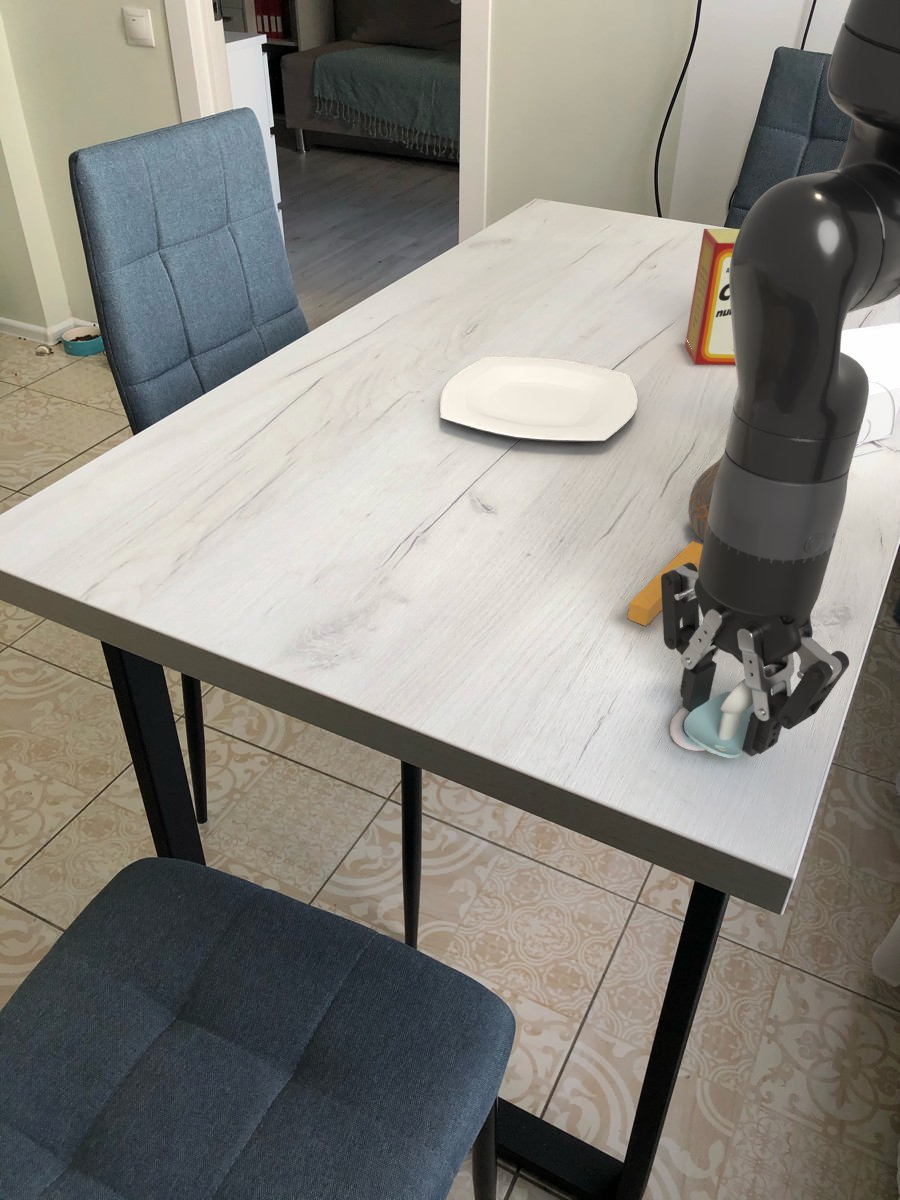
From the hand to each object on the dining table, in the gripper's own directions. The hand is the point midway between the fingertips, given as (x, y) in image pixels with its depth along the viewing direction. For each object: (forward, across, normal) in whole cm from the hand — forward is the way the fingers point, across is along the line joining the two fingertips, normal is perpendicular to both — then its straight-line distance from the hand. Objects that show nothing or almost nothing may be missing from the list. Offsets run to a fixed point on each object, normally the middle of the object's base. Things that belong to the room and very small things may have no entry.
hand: (724, 725), depth 67 cm
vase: (+1, +19, -21) cm, 28 cm away
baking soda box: (+1, +50, -57) cm, 76 cm away
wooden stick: (+1, +15, -11) cm, 19 cm away
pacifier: (+2, +1, 0) cm, 2 cm away
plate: (+1, +51, -25) cm, 56 cm away
